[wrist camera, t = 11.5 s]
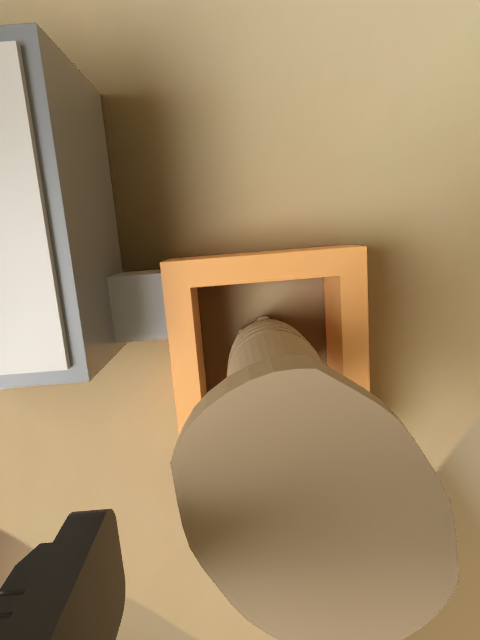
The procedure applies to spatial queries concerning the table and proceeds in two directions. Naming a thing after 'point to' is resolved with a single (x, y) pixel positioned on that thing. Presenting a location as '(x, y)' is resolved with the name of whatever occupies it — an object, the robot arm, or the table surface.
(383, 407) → the handle
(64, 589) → the robot arm
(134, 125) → the table surface
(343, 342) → the chair with orange tray
